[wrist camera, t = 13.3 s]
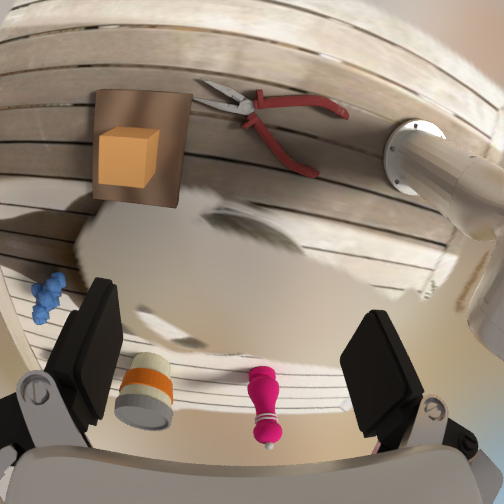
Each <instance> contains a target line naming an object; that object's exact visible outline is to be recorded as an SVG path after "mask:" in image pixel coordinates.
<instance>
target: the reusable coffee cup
mask: <svg viewBox="0 0 504 504" xmlns="http://www.w3.org/2000/svg"><path fill="white" fill-rule="evenodd" d="M119 392H120V394H119V396H118V397H117V398H116V401H115V412H114V413H115V415H116V417H117V418H118V419H119V420H121V421H122V422H124V423H126V424H128V425H130V426H132V427H135V428H139V429H143V430H150V431H160V430H165V429H167V428H169V427H170V425H171V421H172V416H173V411H172V409H171V405H172V404H173V385H172V382H171V376H170V364H169V362H168V361H167V360H166V359H165V358H163V357H162V356H159V355H157V354H154V353H139V354H137V355H136V356H135V357H134V359H133V361H132V364H131V366H130V369H129V370H128V371H127V372H126V374H125V376H124V379H123V381H122V384H121V386H120V389H119Z"/></svg>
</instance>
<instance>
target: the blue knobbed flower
mask: <svg viewBox="0 0 504 504" xmlns="http://www.w3.org/2000/svg"><path fill="white" fill-rule="evenodd" d="M51 275H52V278H50V279H47V280H46V283H45V285H44V286H43V285H42V284H41V283H36V284H33V285H31V291H32V295H33V296H34V297H35V298H36V305H35V306H33V312H32V317H33V320H34V322H35V324H37V325H42V324H44V323H47V320H48V319H50V317H49V311H50V310H53V309H55V307H57V306H59V305H60V303H59V298H58V297H61V288H64V287H66V280H65V276H64V274H63V273H62V272H56V273H53V274H51Z"/></svg>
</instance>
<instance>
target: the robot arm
mask: <svg viewBox="0 0 504 504" xmlns="http://www.w3.org/2000/svg"><path fill="white" fill-rule="evenodd" d="M390 147H391V148H390ZM383 163H384V170H385V173H386V176H387V178H388V179H389V181H390V183H391V184H392V185H393V186H394V187H395V188H396V189H398V190H399V191H400V192H402V193H404V194H407V195H420V196H421V197H423V198H424V199H425V200H426V201H427V202H429V203H430V204H431V205H432V206H433V207H434V208H436V209H437V210H438V211H439V212H440V213H441V214H442V215H444V216H445V217H446V218H447V219H448V220H449V221H450V222H451V223H453V224H454V225H455V226H456V227H457V228H458V229H459V230H460V231H461V232H462V233H464V234H465V235H466V236H468V237H470V238H472V239H474V240H478V241H490V240H496V239H497V241H496V245H495V248H494V250H493V253H492V255H491V259H490V261H489V263H488V265H487V268H486V270H485V272H484V274H483V276H482V278H481V280H480V282H479V284H478V286H477V288H476V290H475V292H474V294H473V296H472V298H471V300H470V303H469V306H468V309H467V322H468V325H469V328H470V330H471V332H472V334H473V335H474V337H475V338H476V339H477V340H478V342H480V343H481V344H482V345H483V346H484V347H485V348H486V349H487V350H489V351H490V352H491V353H493V354H494V355H496V356H497V357H499V358H500V359H501V360H503V361H504V169H503V168H501V167H499V166H497V165H496V164H494V163H492V162H490V161H488V160H486V159H485V158H483V157H481V156H479V155H477V154H475V153H473V152H471V151H469V150H467V149H465V148H463V147H461V146H459V145H457V144H455V143H453V142H451V141H449V140H446V139H445V136H444V135H443V133H442V132H441V130H440V129H439V128H438V127H437V126H436V125H434V124H432V123H431V122H428V121H426V120H421V119H413V120H409V121H406V122H404V123H402V124H401V125H400V126H398V127H397V128H396V129H395V130H394V131H393V133H392V134H391V135H390V137H389V139H388V141H387V143H386V146H385V150H384V160H383ZM122 343H123V331H122V324H121V317H120V309H119V301H118V292H117V286H116V285H115V284H113V283H112V280H110V279H104V278H98V277H97V278H95V280H94V281H93V283H92V285H91V287H90V289H89V291H88V293H87V295H86V297H85V299H84V301H83V303H82V305H81V307H80V309H79V311H77V310H73V311H71V313H70V314H69V316H68V318H67V320H66V322H65V324H64V326H63V328H62V330H61V333H60V335H59V337H58V339H57V341H56V343H55V346H54V348H53V350H52V353H51V355H50V357H49V359H48V362H47V364H46V367H45V369H44V372H43V371H39V370H34V371H29V372H28V373H26V374H24V375H23V376H22V377H21V378H20V379H19V381H18V383H17V388H16V392H15V393H13V394H11V395H9V396H6V397H4V398H2V399H0V479H1V478H2V477H3V476H4V475H5V474H4V471H5V470H6V469H7V468H8V467H9V466H15V467H14V470H13V472H12V475H11V478H10V482H9V485H8V489H7V493H6V499H5V503H4V501H3V500H2V499H1V497H0V504H492V503H493V501H494V500H495V498H496V496H497V494H498V492H499V490H500V488H501V486H502V483H503V476H502V473H501V471H500V470H499V469H498V468H497V466H496V465H495V464H494V463H493V462H492V461H491V460H490V459H489V457H488V456H486V454H485V453H484V452H483V451H482V450H481V449H480V450H478V442H477V439H476V437H475V436H474V434H473V433H472V432H470V431H469V430H467V429H465V428H464V427H462V426H461V425H459V424H458V423H456V422H454V421H453V420H451V419H450V418H448V408H447V405H446V404H445V402H444V401H443V400H442V399H441V398H440V397H438V396H436V395H432V394H429V395H426V396H425V397H423V395H422V393H424V389H423V387H422V385H421V382H420V380H419V378H418V376H417V373H416V371H415V369H414V367H413V365H412V363H411V360H410V358H409V356H408V355H407V352H406V350H405V348H404V346H403V344H402V342H401V340H400V338H399V335H398V334H397V331H396V329H395V327H394V326H393V324H392V322H391V320H390V318H389V316H388V314H387V312H386V311H384V310H371V311H369V313H367V314H366V315H365V316H364V318H363V320H362V321H361V323H360V325H359V327H358V328H357V330H356V332H355V333H354V335H353V336H352V338H351V340H350V341H349V343H348V345H347V346H346V348H345V350H344V351H343V353H342V354H341V357H340V364H341V368H342V371H343V374H344V378H345V381H346V384H347V388H348V391H349V395H350V398H351V401H352V405H353V408H354V412H355V415H356V419H357V423H358V426H359V429H360V431H361V432H363V434H364V438H368V437H374V436H376V435H377V437H378V441H377V443H376V446H375V448H374V450H373V452H372V454H371V455H367V456H361V457H355V458H350V459H343V460H336V461H327V462H318V463H308V464H296V465H279V466H222V465H205V464H192V463H181V462H173V461H165V460H158V459H151V458H144V457H138V456H133V455H127V454H122V453H117V452H111V451H106V450H100V449H95V448H93V446H92V445H91V443H90V441H89V439H88V437H87V436H86V434H85V432H87V430H88V425H89V424H90V425H94V426H96V425H97V421H98V419H99V420H101V419H102V418H103V416H104V411H105V406H106V403H107V399H108V395H109V391H110V387H111V383H112V379H113V375H114V371H115V368H116V364H117V360H118V357H119V353H120V350H121V346H122Z"/></svg>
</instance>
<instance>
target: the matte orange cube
mask: <svg viewBox="0 0 504 504" xmlns="http://www.w3.org/2000/svg"><path fill="white" fill-rule="evenodd" d="M159 131H160V130H159V129H147V128H134V127H118V126H117V127H115V128H113V129H111V130H109V131H108V132H106V133H104V134H102V135H100V137H99V184H109V185H119V186H128V187H137V188H144V187H145V186H146V185H147V183H148V182H149V180H150V179H151V178H152V176H153V175H154V174H155V171H156V160H157V149H158V140H159Z"/></svg>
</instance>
